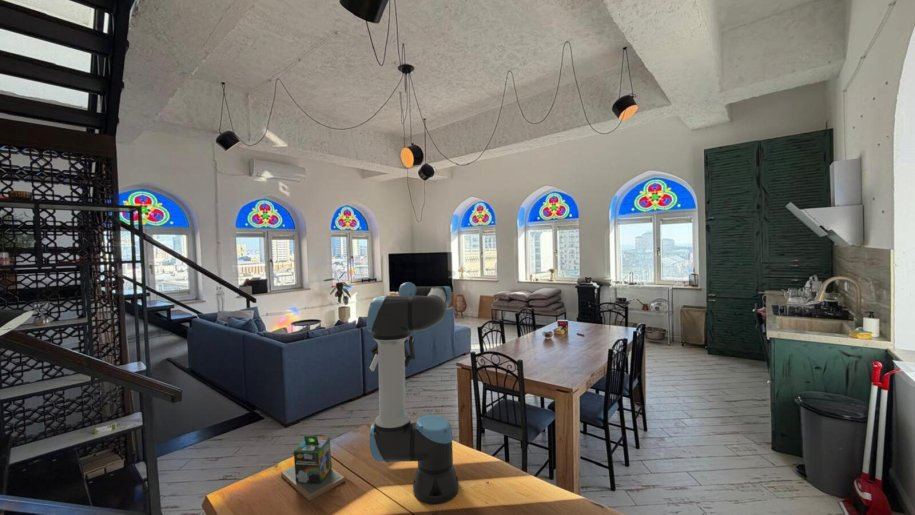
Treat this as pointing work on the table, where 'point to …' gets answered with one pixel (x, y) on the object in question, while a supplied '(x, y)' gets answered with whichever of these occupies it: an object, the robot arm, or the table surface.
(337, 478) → the slate board
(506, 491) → the table surface
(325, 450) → the chalk box
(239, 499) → the table surface
